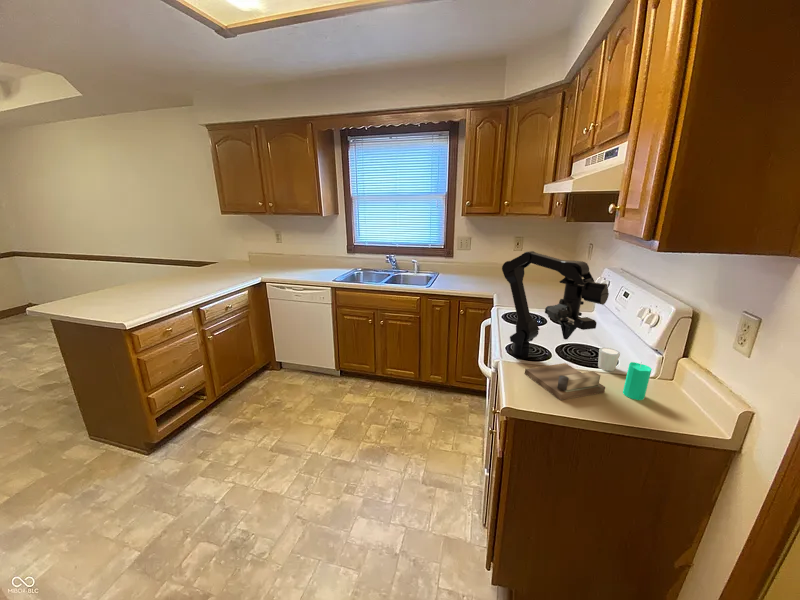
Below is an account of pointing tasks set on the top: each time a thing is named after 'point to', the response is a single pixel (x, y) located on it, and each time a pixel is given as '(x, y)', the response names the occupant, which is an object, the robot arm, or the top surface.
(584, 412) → the top surface
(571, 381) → the hinged leg
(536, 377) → the stool seat
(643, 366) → the candle
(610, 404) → the top surface
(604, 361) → the white mug
